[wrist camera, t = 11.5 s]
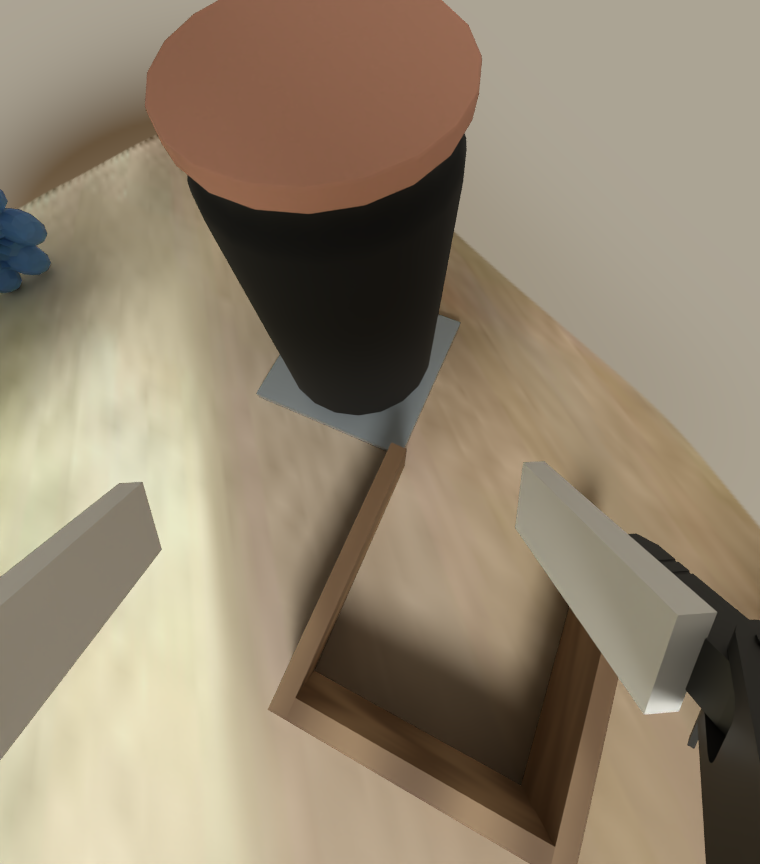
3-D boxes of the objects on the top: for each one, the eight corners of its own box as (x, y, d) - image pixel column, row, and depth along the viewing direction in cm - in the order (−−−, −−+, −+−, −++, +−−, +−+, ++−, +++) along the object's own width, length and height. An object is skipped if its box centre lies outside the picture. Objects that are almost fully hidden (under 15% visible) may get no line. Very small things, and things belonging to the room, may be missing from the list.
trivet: (259, 396, 28) (256, 393, 28) (328, 280, 32) (327, 275, 31) (400, 457, 26) (401, 455, 26) (459, 326, 30) (460, 322, 29)
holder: (292, 679, 22) (267, 709, 18) (391, 460, 26) (391, 442, 22) (533, 816, 20) (572, 888, 15) (601, 550, 24) (646, 549, 20)
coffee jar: (347, 280, 31) (290, -59, 14) (455, 341, 29) (547, 27, 12) (264, 373, 28) (69, 98, 11) (376, 449, 26) (344, 247, 9)
